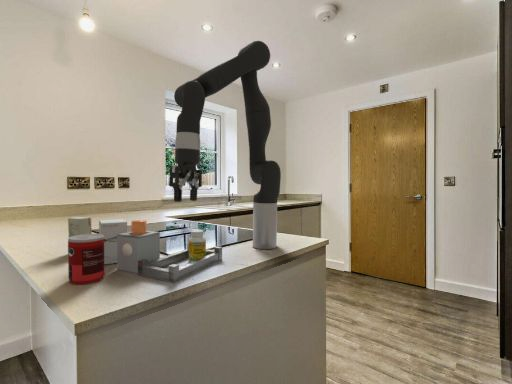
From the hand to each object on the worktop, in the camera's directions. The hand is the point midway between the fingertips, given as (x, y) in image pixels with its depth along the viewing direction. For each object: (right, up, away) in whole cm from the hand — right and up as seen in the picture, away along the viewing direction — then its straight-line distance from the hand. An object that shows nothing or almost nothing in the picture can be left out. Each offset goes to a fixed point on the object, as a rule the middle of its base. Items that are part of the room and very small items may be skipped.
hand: (186, 201), depth 87 cm
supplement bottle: (+3, -19, +2) cm, 20 cm away
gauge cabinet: (-12, -19, -5) cm, 23 cm away
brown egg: (-12, -12, -6) cm, 18 cm away
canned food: (-21, -20, -16) cm, 33 cm away
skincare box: (-38, -18, +8) cm, 43 cm away
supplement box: (-23, -19, 0) cm, 30 cm away
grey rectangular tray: (0, -19, -4) cm, 20 cm away
